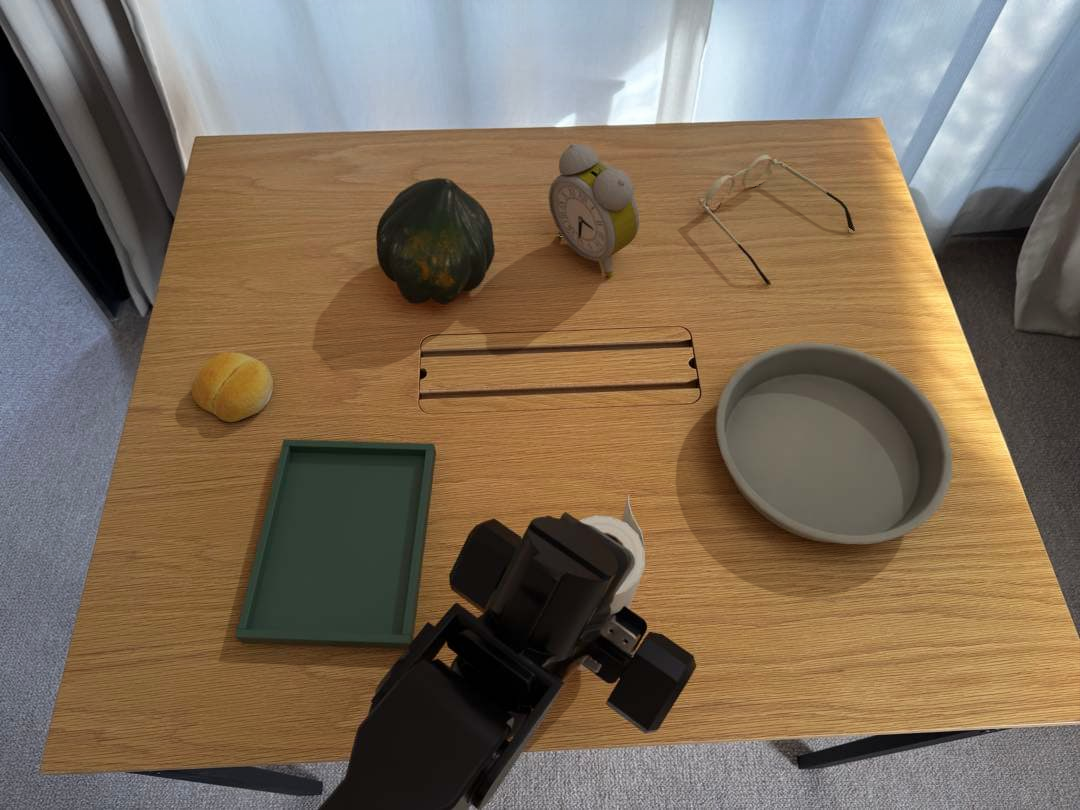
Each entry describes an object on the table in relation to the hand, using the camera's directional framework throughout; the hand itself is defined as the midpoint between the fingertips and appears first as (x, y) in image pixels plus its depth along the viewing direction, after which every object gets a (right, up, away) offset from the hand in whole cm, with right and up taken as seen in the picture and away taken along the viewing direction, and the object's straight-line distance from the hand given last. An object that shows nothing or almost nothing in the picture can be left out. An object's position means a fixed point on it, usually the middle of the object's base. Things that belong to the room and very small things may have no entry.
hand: (604, 585), depth 64 cm
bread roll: (-41, +16, +26) cm, 51 cm away
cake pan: (+26, +10, +22) cm, 35 cm away
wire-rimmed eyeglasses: (+26, +39, +40) cm, 62 cm away
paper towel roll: (-1, -7, +8) cm, 10 cm away
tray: (-26, +1, +16) cm, 30 cm away
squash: (-18, +32, +36) cm, 51 cm away
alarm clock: (+2, +36, +38) cm, 52 cm away
